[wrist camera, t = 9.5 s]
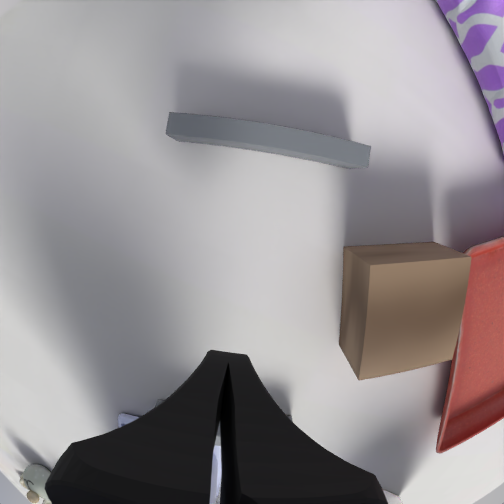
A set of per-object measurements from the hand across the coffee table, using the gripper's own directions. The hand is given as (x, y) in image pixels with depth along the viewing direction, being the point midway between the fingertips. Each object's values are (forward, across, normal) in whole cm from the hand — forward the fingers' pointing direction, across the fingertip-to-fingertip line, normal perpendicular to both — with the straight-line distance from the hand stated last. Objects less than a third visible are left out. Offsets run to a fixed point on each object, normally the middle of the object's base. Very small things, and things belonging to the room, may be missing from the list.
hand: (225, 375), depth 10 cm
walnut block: (+7, -9, -2) cm, 12 cm away
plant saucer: (+7, -23, 0) cm, 24 cm away
